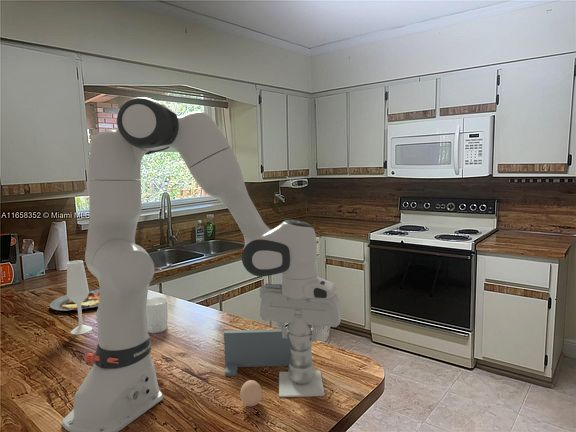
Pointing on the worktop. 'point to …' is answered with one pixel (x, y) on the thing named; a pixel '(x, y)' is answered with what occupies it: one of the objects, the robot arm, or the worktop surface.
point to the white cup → (156, 314)
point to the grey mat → (300, 386)
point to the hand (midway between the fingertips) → (300, 339)
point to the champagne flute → (77, 291)
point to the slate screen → (255, 349)
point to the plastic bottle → (300, 350)
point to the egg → (251, 393)
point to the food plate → (89, 302)
